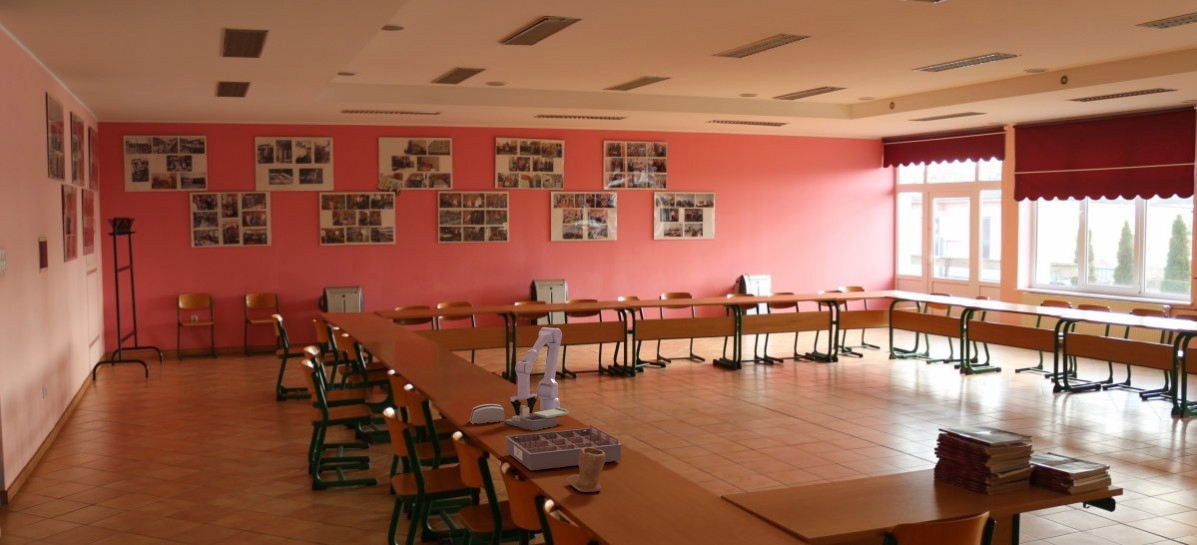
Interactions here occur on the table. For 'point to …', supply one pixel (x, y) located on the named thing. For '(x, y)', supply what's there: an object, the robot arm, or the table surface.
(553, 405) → the robot arm
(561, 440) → the organizer tray
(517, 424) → the housing
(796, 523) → the table surface
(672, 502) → the table surface
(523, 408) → the cube with dome top
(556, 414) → the lid
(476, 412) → the white speaker
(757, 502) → the table surface
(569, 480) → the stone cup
